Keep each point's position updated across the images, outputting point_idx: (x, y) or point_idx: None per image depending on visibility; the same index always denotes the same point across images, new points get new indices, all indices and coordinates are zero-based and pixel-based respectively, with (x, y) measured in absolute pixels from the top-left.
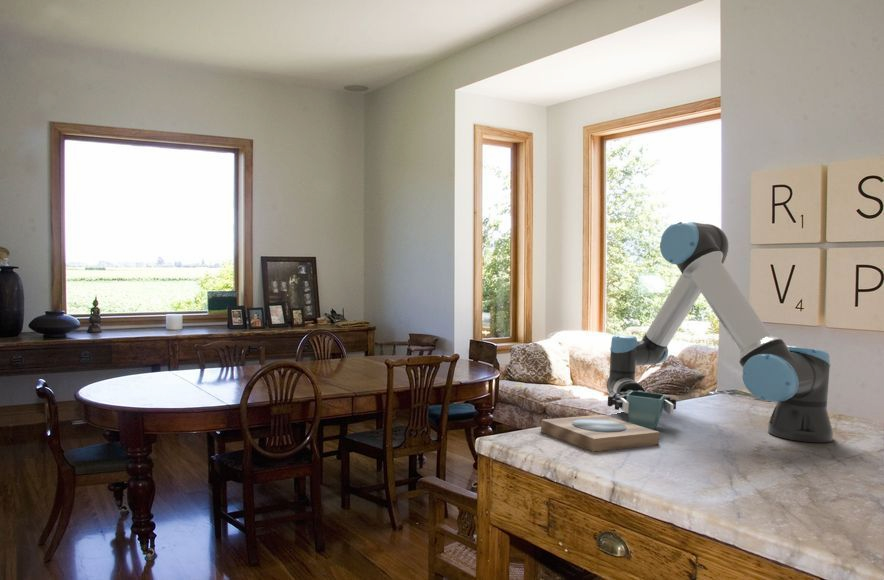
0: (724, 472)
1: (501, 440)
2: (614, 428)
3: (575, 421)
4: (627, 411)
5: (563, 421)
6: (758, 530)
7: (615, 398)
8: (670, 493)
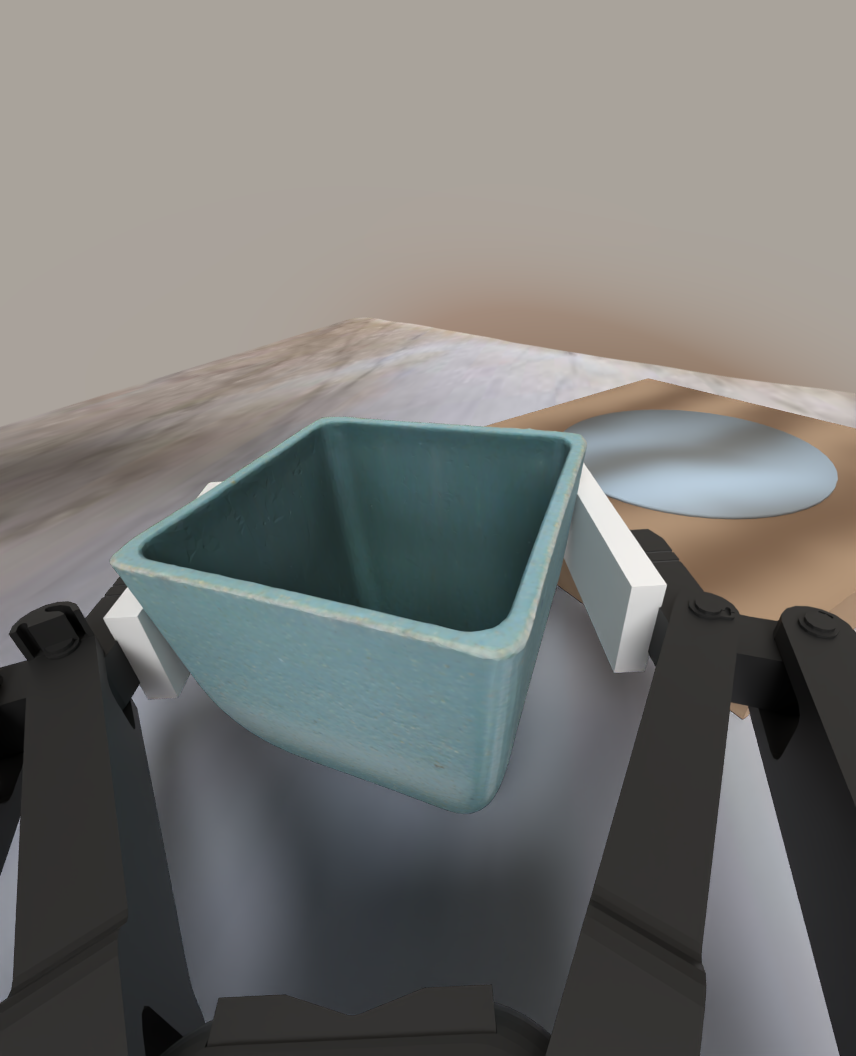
0: (344, 395)
1: None
2: (605, 432)
3: (821, 466)
4: None
5: None
6: (413, 328)
7: (726, 607)
8: (484, 348)
